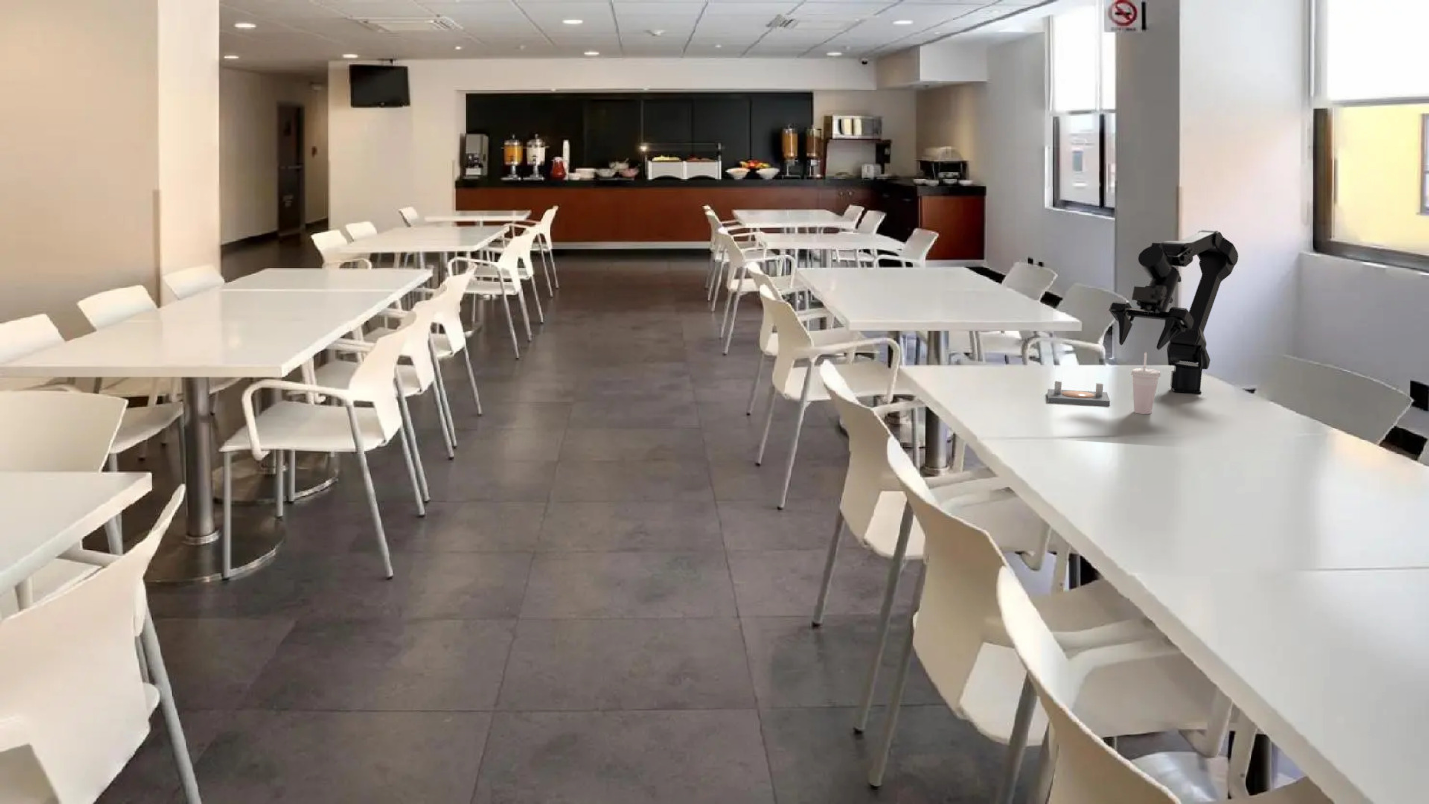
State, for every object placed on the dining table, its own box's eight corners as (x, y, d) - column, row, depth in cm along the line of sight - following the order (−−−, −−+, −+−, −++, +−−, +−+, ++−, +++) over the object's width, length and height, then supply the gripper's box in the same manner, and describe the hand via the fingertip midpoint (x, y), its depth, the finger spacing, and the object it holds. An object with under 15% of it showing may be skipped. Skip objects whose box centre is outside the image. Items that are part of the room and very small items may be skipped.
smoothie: (1122, 410, 283) (1126, 350, 280) (1143, 408, 286) (1148, 349, 283) (1142, 416, 277) (1147, 355, 275) (1163, 413, 280) (1168, 353, 277)
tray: (1106, 397, 298) (1107, 380, 298) (1109, 406, 288) (1110, 388, 287) (1047, 393, 302) (1048, 377, 301) (1048, 402, 291) (1049, 385, 290)
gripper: (1112, 268, 290) (1089, 325, 287) (1188, 274, 277) (1165, 334, 274) (1128, 292, 298) (1106, 348, 294) (1203, 299, 285) (1181, 357, 281)
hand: (1138, 346), depth 286 cm, fingers open, 9 cm apart
